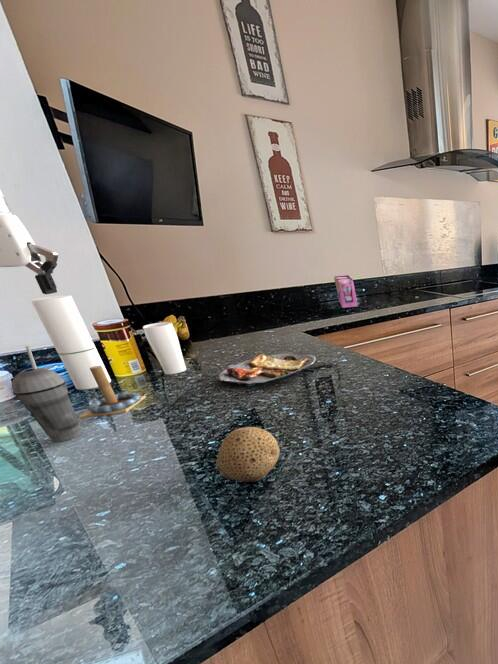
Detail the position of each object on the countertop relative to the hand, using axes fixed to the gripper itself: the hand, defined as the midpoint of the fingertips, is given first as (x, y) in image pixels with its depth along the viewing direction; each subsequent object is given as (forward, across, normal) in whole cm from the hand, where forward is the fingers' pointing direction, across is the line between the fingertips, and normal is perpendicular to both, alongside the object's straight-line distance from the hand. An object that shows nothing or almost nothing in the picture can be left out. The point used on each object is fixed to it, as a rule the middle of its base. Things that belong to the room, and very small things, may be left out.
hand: (21, 294), depth 84 cm
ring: (+26, +9, -1) cm, 28 cm away
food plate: (+28, +39, +13) cm, 49 cm away
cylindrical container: (+29, -7, +20) cm, 36 cm away
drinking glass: (+28, +11, +24) cm, 38 cm away
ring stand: (+28, +8, -1) cm, 29 cm away
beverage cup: (+28, +6, -14) cm, 32 cm away
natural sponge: (+27, +50, -46) cm, 73 cm away
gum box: (+27, +53, +117) cm, 131 cm away
